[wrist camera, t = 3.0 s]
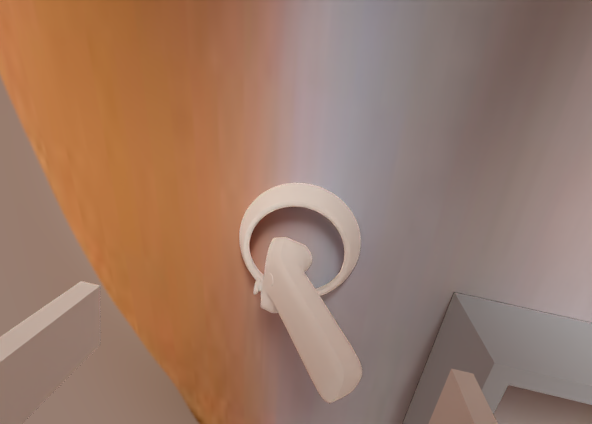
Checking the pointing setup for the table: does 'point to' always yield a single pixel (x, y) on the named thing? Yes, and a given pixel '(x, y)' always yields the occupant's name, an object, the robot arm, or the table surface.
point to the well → (506, 354)
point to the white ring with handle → (306, 286)
